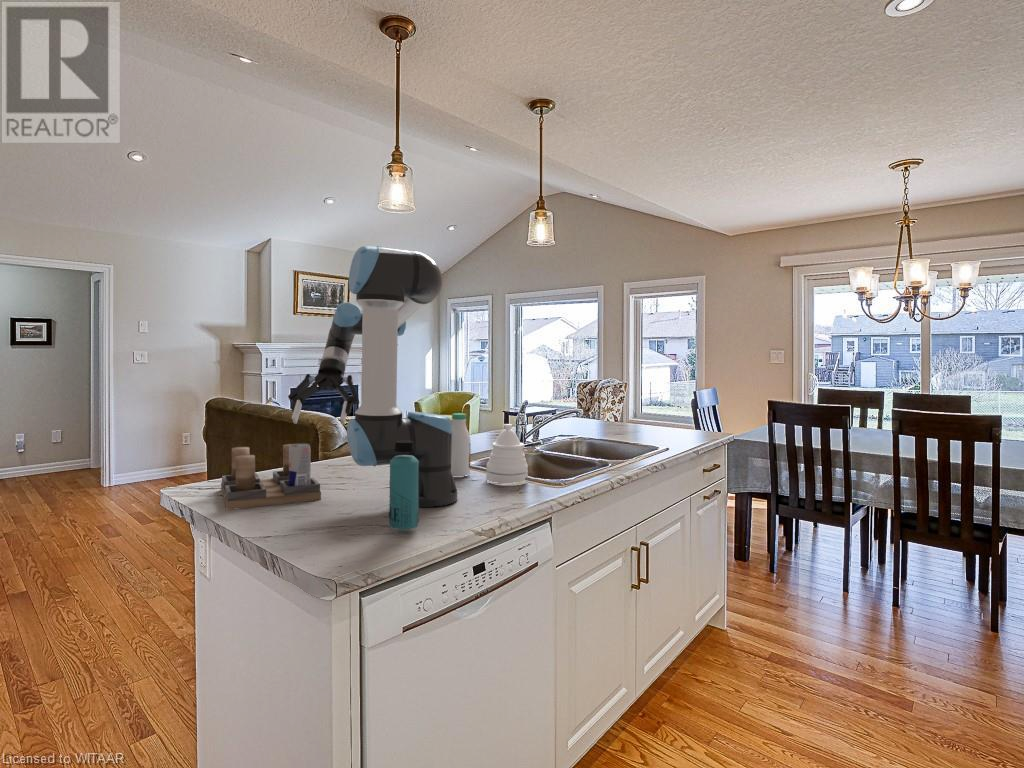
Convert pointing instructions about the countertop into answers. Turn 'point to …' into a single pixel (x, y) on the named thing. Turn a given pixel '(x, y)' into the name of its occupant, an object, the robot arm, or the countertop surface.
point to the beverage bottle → (404, 488)
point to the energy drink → (299, 464)
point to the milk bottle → (460, 446)
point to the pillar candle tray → (262, 484)
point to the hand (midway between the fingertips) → (318, 421)
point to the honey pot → (507, 458)
